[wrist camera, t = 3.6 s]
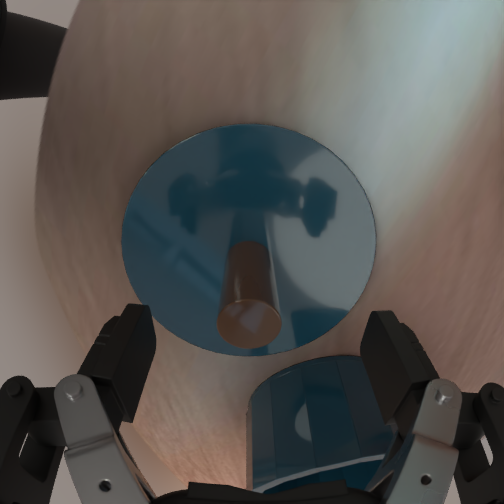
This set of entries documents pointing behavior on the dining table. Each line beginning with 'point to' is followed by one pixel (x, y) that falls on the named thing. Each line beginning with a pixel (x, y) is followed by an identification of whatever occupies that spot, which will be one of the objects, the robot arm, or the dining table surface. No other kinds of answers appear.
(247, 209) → the pot lid
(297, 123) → the dining table surface
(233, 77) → the dining table surface
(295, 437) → the pot
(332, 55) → the dining table surface
